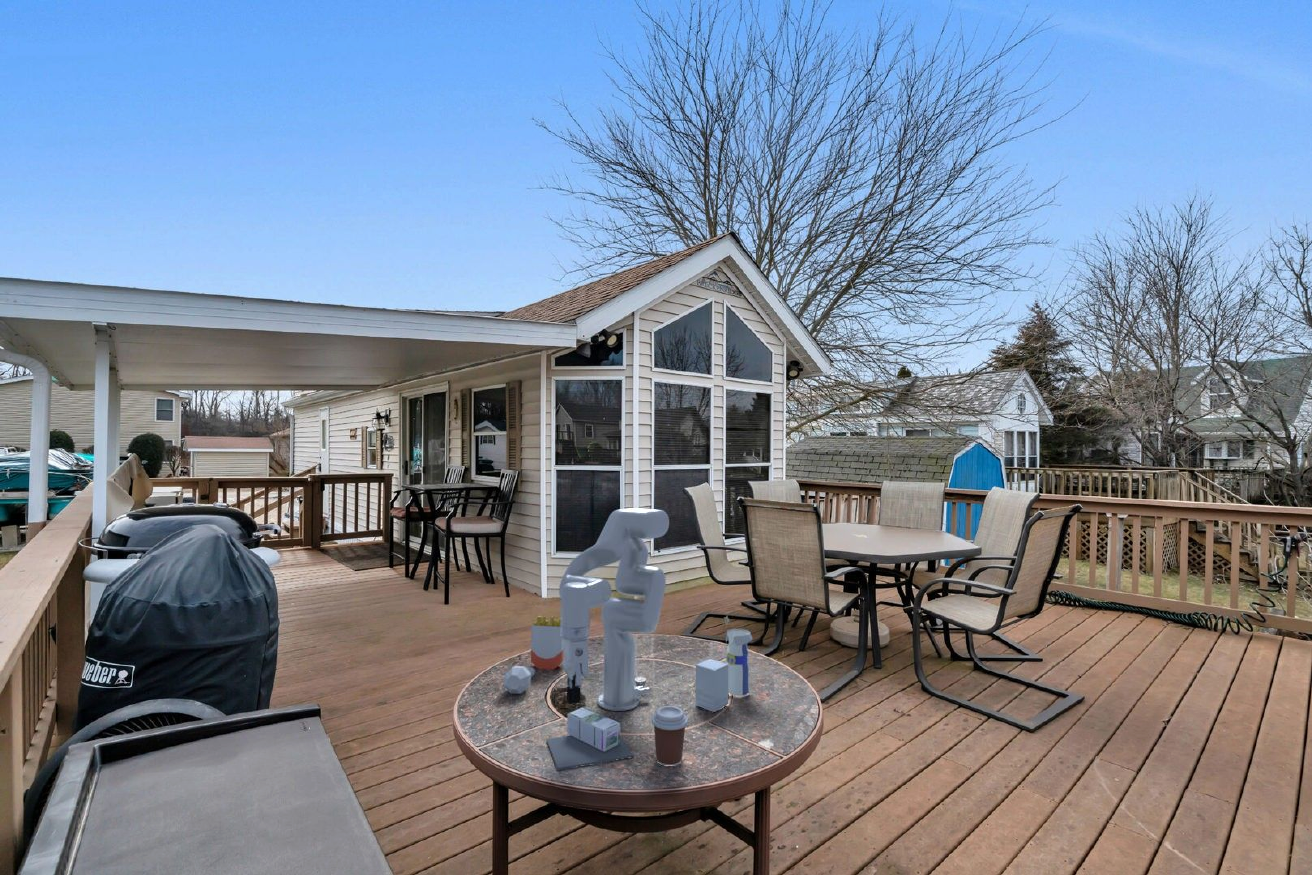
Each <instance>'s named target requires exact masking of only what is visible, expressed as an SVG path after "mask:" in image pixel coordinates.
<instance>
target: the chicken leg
mask: <svg viewBox="0 0 1312 875" xmlns="http://www.w3.org/2000/svg"><path fill="white" fill-rule="evenodd" d="M535 671H536V670H535V669H534V668H533V667H526V666H522V665H521V666H520V665H514V666H511V668H510V669H509V670H508V671H507V672H506V673H505V674H504V678H503V679H504V680H503V686H504V688H505V689H506V690H507V691H508V692H509V694H514V695H515V694H518V695H522V694H523V693H524V692H525V691H526V690H527V688H529V687H530V686H531V683H532V682H531V681H532V678H533V676H534V675H535V673H536V672H535Z"/></svg>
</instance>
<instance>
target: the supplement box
mask: <svg viewBox="0 0 1312 875" xmlns="http://www.w3.org/2000/svg"><path fill="white" fill-rule="evenodd" d="M727 704H728V705H729V696H728V664H727V663H724V662H721V661H718V660H716V659H715V660H714V659H712V658H709V659H706V660H704V661H702V662H699V663H697V664H695V707H697V706H700V707H702V708H705V709H707V710H712V711H716V710H719V709H720V708H722V707H723V706H726V705H727ZM702 708H701V709H702ZM705 709H704V710H705ZM707 710H706V711H707Z"/></svg>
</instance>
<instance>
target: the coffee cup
mask: <svg viewBox="0 0 1312 875" xmlns="http://www.w3.org/2000/svg"><path fill="white" fill-rule="evenodd" d="M651 723H652V725H653V729H654V743H655V745H654V746H655V760H657V761H658V762H659V763H661V764H662V765H677V764H679V763H680V762H681V761H682V762H683V749H684V740H685V732H686V730H685V729H686V726H687V725H688V723H689V718H688V717H687V715H685V711H684V710H683V709H682V708H680V707H678V706H673V705H666V706H665V705H664V706H661V707H659V708H657V709H656V711H655V713H654V714H653V715H652V717H651ZM657 761H656V762H657ZM682 762H681V763H682Z"/></svg>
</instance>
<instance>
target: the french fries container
mask: <svg viewBox="0 0 1312 875" xmlns="http://www.w3.org/2000/svg"><path fill="white" fill-rule="evenodd" d="M560 632H561V617H560V618H558V619H555V616H551V617H550V622H549V620H548V619H547V616H542V615H538V616H536V620H535V621H534V622H533V623H532V624H531V634H530V636H531V637H530V638H531V641H530V642H531V644H530V662H531V663H532V664H533V665H534V666H535V667H536V668H537V669H539V670H555V669H556V668H557V667H558V666H560V665H561V664H563V643H564V642H563V641H564V640H563V639H561V638H560Z"/></svg>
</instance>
